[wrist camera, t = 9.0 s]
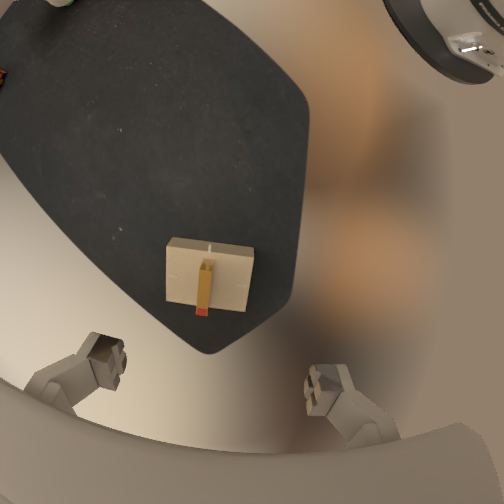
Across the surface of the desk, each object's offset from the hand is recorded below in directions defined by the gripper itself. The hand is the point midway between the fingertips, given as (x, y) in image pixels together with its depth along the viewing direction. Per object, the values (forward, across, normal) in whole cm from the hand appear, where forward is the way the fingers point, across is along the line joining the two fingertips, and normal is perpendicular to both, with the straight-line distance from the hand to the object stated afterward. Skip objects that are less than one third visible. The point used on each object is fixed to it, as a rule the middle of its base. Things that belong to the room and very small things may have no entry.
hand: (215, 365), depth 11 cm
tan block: (+29, +3, +11) cm, 31 cm away
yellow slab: (+26, +3, +11) cm, 28 cm away
